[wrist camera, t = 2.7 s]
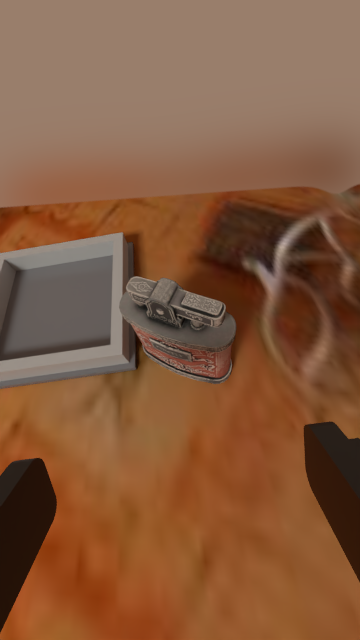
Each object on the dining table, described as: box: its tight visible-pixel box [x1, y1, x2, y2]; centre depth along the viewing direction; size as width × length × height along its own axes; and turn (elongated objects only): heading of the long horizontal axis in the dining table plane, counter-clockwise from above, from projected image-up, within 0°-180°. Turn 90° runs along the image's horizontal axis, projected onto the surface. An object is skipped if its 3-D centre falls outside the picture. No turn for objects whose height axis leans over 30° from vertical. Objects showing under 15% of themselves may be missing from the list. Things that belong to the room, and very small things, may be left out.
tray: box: [0, 232, 136, 389], centre depth 27 cm, size 15×15×2 cm
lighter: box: [119, 277, 236, 384], centre depth 20 cm, size 8×3×10 cm, turn 66°
